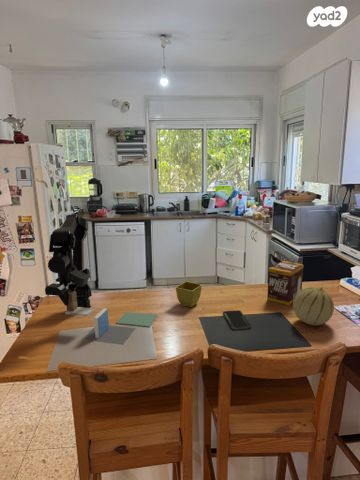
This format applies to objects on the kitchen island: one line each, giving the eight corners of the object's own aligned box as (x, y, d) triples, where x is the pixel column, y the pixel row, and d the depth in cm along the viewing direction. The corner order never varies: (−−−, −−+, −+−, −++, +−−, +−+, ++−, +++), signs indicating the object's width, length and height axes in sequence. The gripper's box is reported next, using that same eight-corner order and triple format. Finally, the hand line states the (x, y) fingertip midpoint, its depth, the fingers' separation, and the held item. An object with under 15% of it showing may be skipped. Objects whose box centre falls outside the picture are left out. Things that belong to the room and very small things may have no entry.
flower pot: (192, 310, 145) (192, 290, 143) (175, 306, 149) (175, 287, 147) (202, 303, 152) (202, 284, 150) (185, 299, 157) (185, 281, 154)
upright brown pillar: (65, 314, 125) (63, 294, 123) (72, 308, 129) (70, 289, 128) (87, 316, 123) (85, 296, 121) (93, 310, 127) (92, 291, 125)
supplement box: (266, 300, 154) (268, 267, 151) (280, 290, 166) (282, 260, 162) (288, 306, 148) (290, 272, 144) (301, 295, 159) (304, 264, 156)
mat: (82, 340, 121) (81, 339, 121) (97, 325, 132) (97, 324, 132) (123, 345, 117) (123, 344, 117) (135, 329, 129) (135, 328, 129)
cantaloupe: (284, 318, 136) (286, 283, 132) (311, 312, 141) (314, 278, 138) (311, 335, 123) (314, 297, 119) (340, 327, 128) (344, 290, 125)
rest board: (116, 324, 133) (116, 322, 132) (126, 314, 142) (126, 311, 142) (149, 328, 129) (149, 326, 129) (157, 317, 139) (157, 314, 139)
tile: (95, 337, 122) (93, 317, 120) (105, 327, 129) (104, 308, 128) (99, 338, 121) (97, 318, 120) (109, 327, 129) (107, 308, 127)
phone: (232, 328, 127) (222, 311, 142) (232, 331, 127) (222, 313, 142) (252, 326, 128) (240, 310, 143) (252, 329, 128) (240, 312, 143)
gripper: (70, 274, 112) (74, 317, 116) (97, 258, 130) (99, 296, 133) (41, 271, 115) (46, 313, 118) (71, 256, 132) (74, 293, 136)
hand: (68, 303), depth 126 cm, fingers closed on upright brown pillar, 3 cm apart
